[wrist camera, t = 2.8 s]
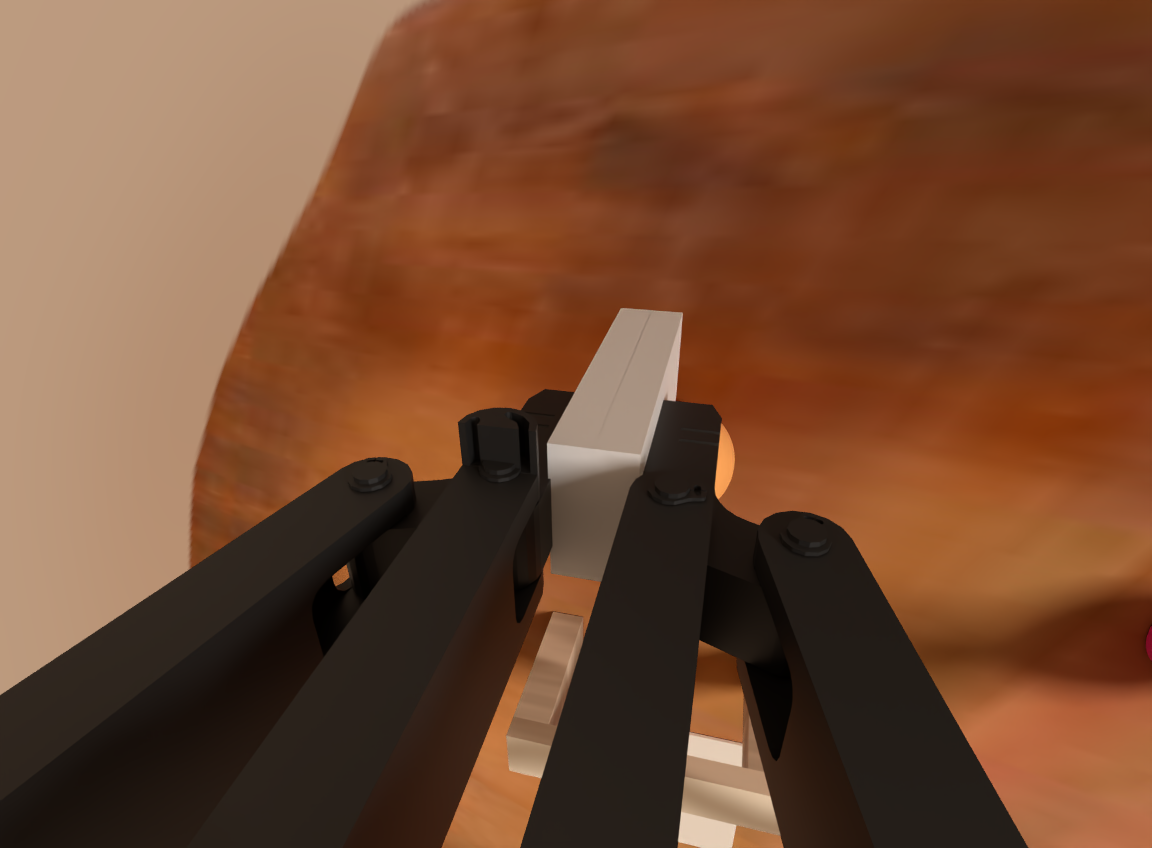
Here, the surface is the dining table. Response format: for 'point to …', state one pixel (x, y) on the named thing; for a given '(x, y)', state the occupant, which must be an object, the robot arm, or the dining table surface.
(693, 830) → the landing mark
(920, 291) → the dining table surface
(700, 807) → the bridge
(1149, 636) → the pepper mill
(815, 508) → the dining table surface
